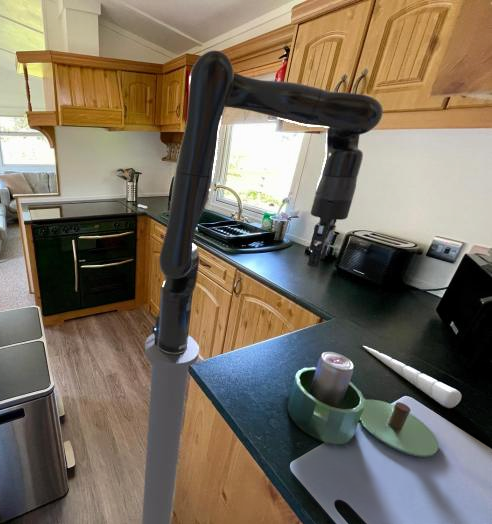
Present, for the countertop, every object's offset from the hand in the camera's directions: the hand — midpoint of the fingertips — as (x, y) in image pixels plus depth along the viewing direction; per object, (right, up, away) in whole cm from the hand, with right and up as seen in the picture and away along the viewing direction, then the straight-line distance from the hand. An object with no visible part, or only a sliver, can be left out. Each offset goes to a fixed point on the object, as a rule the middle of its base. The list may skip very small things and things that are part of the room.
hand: (316, 262), depth 72 cm
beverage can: (-4, -34, -8) cm, 36 cm away
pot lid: (+11, -36, -10) cm, 38 cm away
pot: (-4, -35, -8) cm, 36 cm away
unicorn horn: (+27, -31, +6) cm, 42 cm away
